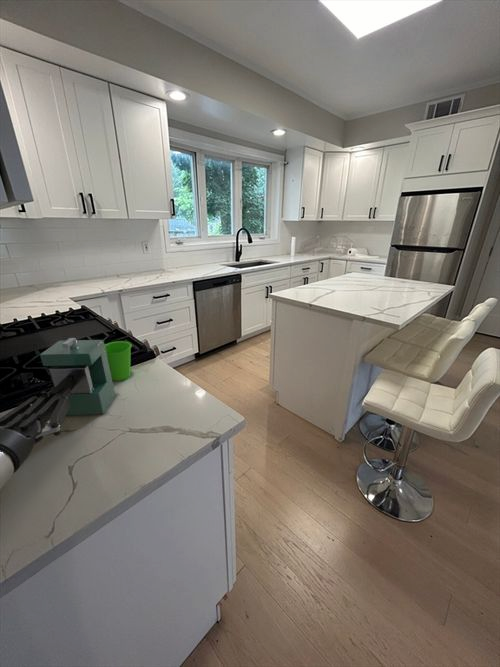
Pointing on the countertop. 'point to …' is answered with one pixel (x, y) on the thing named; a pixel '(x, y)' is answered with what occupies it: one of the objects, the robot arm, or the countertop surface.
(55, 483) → the countertop surface
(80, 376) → the plate
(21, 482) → the countertop surface
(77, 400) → the dispenser
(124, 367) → the cup
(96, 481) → the countertop surface
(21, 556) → the countertop surface
